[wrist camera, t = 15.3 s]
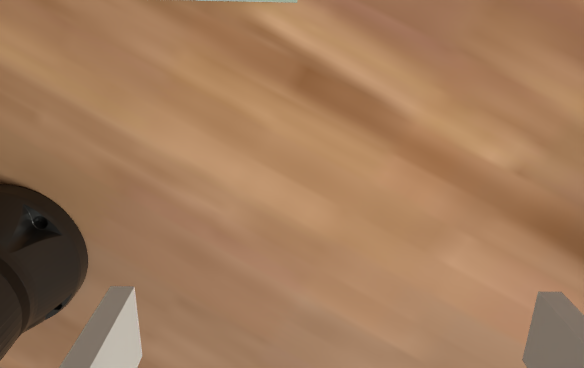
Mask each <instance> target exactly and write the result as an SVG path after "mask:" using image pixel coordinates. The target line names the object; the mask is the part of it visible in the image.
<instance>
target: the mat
mask: <svg viewBox="0 0 584 368" xmlns="http://www.w3.org/2000/svg"><path fill="white" fill-rule="evenodd" d="M198 1H246V2H294V3H297V0H198Z"/></svg>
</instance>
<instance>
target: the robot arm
mask: <svg viewBox="0 0 584 368" xmlns="http://www.w3.org/2000/svg"><path fill="white" fill-rule="evenodd" d="M87 268H88V255H87V249H86V245H85V242H84V239H83V237H82V234H81V232H80V231H79V229H78V227H77V226H76V224H75V223H74V221H73V220H72V219H71V218H70V216H69V215H68V214H67V213H66V212H65V211H64V210H63V209H62V208H60V207H59V206H58V205H57V204H55V203H54V202H53V201H51V200H50V199H48V198H46V197H45V196H43V195H41V194H39V193H37V192H34V191H32V190H29V189H26V188H22V187H18V186H13V185H2V184H0V360H1V359H2V358H3V357H4V355H5V354H6V353H7V351H8V350H9V349H10V348H11V346H12V345H13V344H14V342H15V341H16V340H17V339H18V337H19V336H20V335H21V334H22V333H24V332H25V331H27V330H29V329H31V328H32V327H34V326H36V325H38V324H39V323H41V322H43V321H44V320H46V319H48V318H50V317H52V316H53V315H55V314H57V313H58V312H59V311H61V310H62V309H63V308H64V307H65V306H66V305H67V304H68V303H69V302H70V301H71V300H72V298H73V297H74V295H75V294H76V293H77V291H78V290H79V289H80V287H81V285H82V284H83V282H84V279H85V276H86V273H87ZM141 357H142V349H141V340H140V331H139V322H138V313H137V305H136V296H135V287H134V286H110V288H109V290H108V291H107V293H106V294H105V296H104V297H103V299H102V301H101V302H100V304H99V305H98V307H97V309H96V310H95V312H94V313H93V315H92V316H91V318H90V320H89V321H88V323H87V324H86V326H85V327H84V329H83V331H82V332H81V334H80V335H79V337H78V338H77V340H76V342H75V343H74V345H73V346H72V348H71V350H70V351H69V353H68V354H67V356H66V357H65V359H64V361H63V362H62V364H61V365H60V367H59V368H137V367H138V365H139V362H140V360H141ZM522 360H523V362H524V363H525V365H526V366H527V368H584V315H583V314H582V313H581V312H580V311H579V310H578V309H577V308H576V307H575V306H574V305H573V304H572V302H571V301H570V300H569V299H568V298H567V297H566V296H565V295H564V294H563V293H562V292H538V295H537V299H536V303H535V308H534V312H533V316H532V321H531V325H530V329H529V334H528V338H527V342H526V346H525V351H524V355H523V359H522Z"/></svg>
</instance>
